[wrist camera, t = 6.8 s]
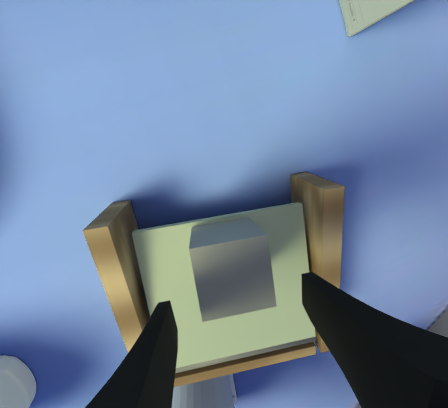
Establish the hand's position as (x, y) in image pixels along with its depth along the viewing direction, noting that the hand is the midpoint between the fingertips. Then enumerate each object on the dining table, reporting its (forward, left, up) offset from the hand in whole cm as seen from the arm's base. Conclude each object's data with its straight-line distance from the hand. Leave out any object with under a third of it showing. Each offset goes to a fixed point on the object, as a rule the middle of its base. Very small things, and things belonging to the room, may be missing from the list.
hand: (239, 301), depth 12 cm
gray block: (0, 0, -6) cm, 6 cm away
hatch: (-4, 0, -6) cm, 7 cm away
